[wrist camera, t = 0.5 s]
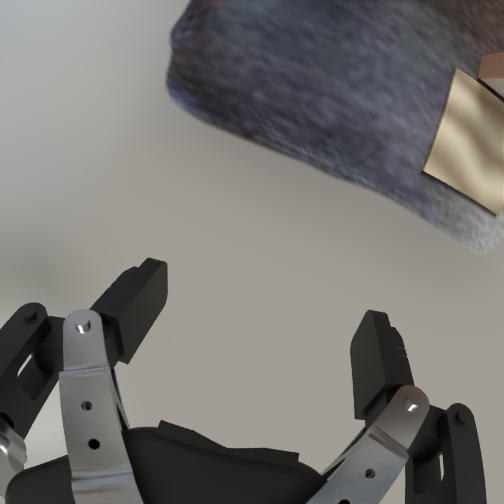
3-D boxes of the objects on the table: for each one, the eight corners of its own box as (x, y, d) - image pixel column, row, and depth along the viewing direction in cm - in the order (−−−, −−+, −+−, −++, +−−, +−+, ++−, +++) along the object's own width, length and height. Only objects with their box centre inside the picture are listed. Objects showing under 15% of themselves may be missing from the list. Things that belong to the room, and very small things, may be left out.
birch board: (454, 68, 25) (456, 67, 24) (527, 126, 24) (529, 126, 24) (422, 169, 32) (423, 170, 32) (496, 214, 32) (498, 215, 31)
